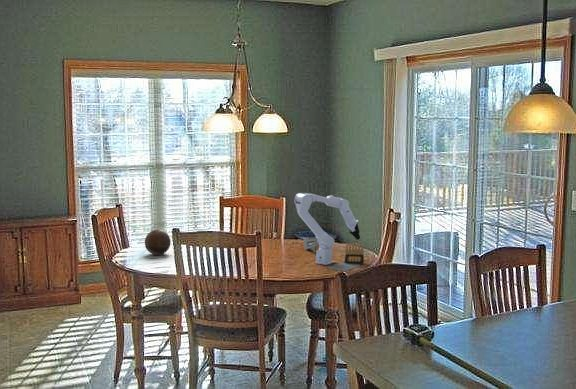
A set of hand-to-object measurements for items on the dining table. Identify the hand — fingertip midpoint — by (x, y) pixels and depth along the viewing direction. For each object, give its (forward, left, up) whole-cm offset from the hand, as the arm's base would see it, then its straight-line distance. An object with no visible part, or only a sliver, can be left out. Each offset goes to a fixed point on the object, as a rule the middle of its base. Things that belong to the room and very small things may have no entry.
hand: (358, 236), depth 383 cm
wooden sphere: (-61, +101, -14) cm, 119 cm away
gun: (+1, +32, -14) cm, 35 cm away
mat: (-23, -4, -14) cm, 27 cm away
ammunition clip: (-11, -4, -14) cm, 18 cm away
